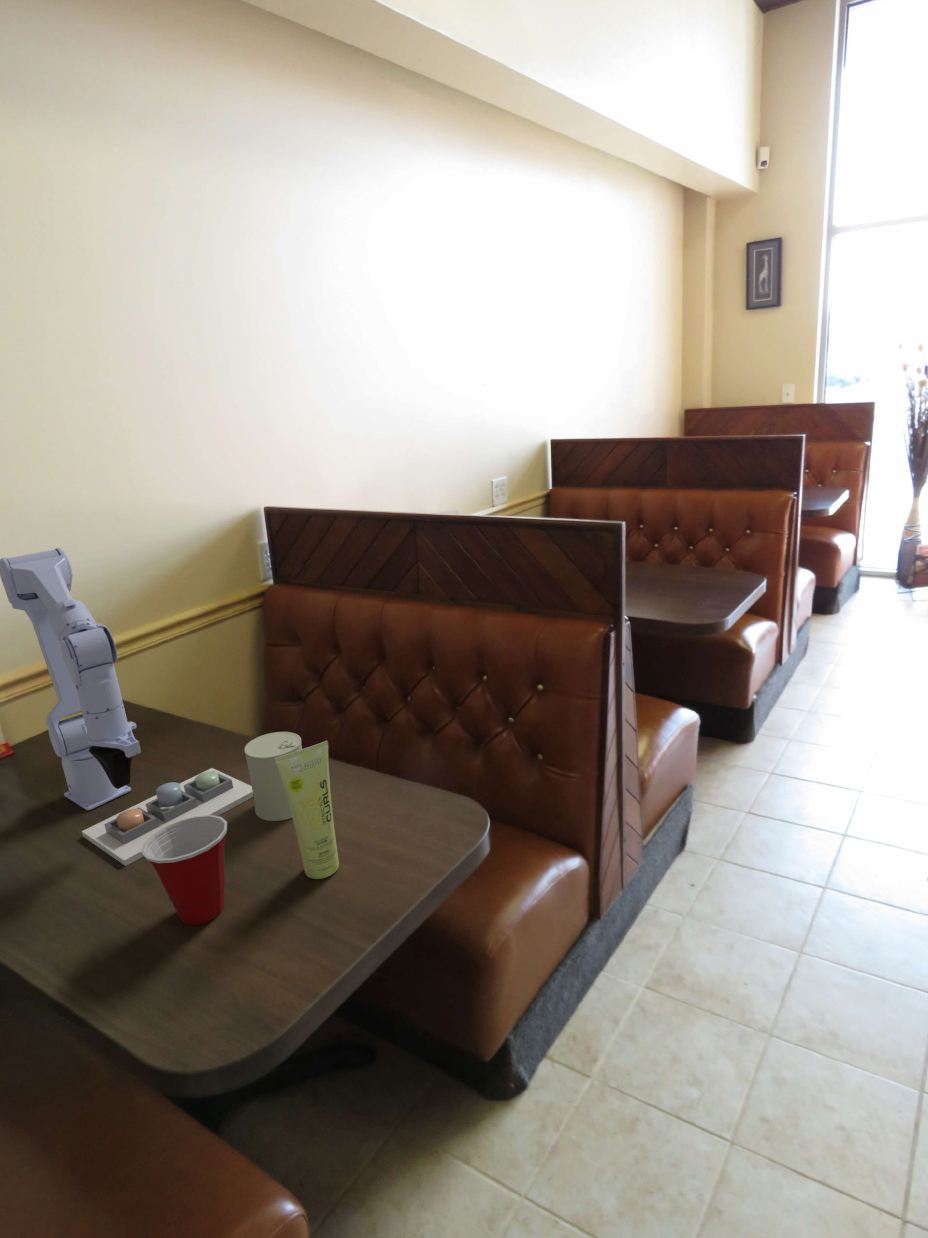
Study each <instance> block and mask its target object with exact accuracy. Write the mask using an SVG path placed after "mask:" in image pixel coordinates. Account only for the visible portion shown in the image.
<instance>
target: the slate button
mask: <svg viewBox="0 0 928 1238" xmlns="http://www.w3.org/2000/svg"><path fill="white" fill-rule="evenodd" d="M155 795H157V799H158V803H159V806H161V807H171V806H174V805H176V804H178V803H180V802H181V801H182V799H183V797H182V792H181V788H180V783H179V782H176V781H175V782H173V781H172V782H171V781H170V782H167V783H163V784H162V785H159V786H158V787H157V788H156V789H155Z"/></svg>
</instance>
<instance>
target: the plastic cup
mask: <svg viewBox="0 0 928 1238" xmlns="http://www.w3.org/2000/svg"><path fill="white" fill-rule="evenodd" d="M227 832H228V821H227V820H225V818H223V817H222V816H220V815H219V816H213V815H203V816H194V817H190V818H186V819H182V820H179V821H177V822H174V823H172V824H170V825H167V826H165V827H163V828H162V829H160V830H158V831H157V832H155V833H154V834H152V835H151V836H150V837H149V838H148V839H147V840H146V841H145V843H144V844H143V847H142V851H141V852H142V854H143V855H144V856H143V857H144V858H145V859H146V860H147V861H148V862H150V864H151V865H152V867H153V869H154V870H155V872H156V873H157V875H158V878H159V880H160V882H161V884H162V886H163V888H164V890H165V892H166V895H167V897H168V898H169V901H170V902H171V903H172V906H173V907H174V909H175V912H176V914H177V916H178V917H179V919H180V920H181V921H182V923H183V924H186V925H188V926H198V925H204V924H207V923H208V922H210V921H213V920H215V919H216V918H217V917H218V916H219V915H220V914H221V913H222V912H223V909H224V907H225V885H226V884H225V880H226V877H225V845H226V844H225V843H226V842H225V840H226V834H227Z"/></svg>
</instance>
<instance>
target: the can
mask: <svg viewBox="0 0 928 1238" xmlns="http://www.w3.org/2000/svg"><path fill="white" fill-rule="evenodd" d="M301 749H303V746H302V738H301V736H300V735H298V734H297V733H295V732H290V731H276V732H270V733H269V732H268V733H265V734H262V735H260V736H257V737H256V738H254V739H251V740H250V741H249V742H248V743H246V744H245V746H244V750H243V751H244V755H245V759H246V764H247V769H248V773H249V779H250V783H251V784H250V786H252V791H253V796H254V797H253V802H254V812H255V815H256V816H257V817H258V818H259V819H261V820H264V821H266V822H267V821H268V822H280V821H286V820H289V819H293V818H292V814H291V810H290V807H289V803H288V799H287V796H286V792H285V789H284V785H283V782H282V779H281V776H280V773H279V770H278V767H277V765H276V762H275V758H277V757H280V756H283V755H286V754H289V753H292V752H295V751H298V750H301Z"/></svg>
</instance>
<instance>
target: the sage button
mask: <svg viewBox="0 0 928 1238" xmlns="http://www.w3.org/2000/svg"><path fill="white" fill-rule="evenodd" d="M204 772H205V771H204ZM201 773H202V774H201ZM201 773H199V774H200V775H198V774H197V775H198V776H197V777H196V778H195V781H196V786H197V789H198V790H200V791H202V792H205V791H207V790H209V789H211V788H213V787H214V786H216V785H218V784H220V782H219V777H218V773H217V772H213V771H210V772H205V773H203V772H201Z"/></svg>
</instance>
